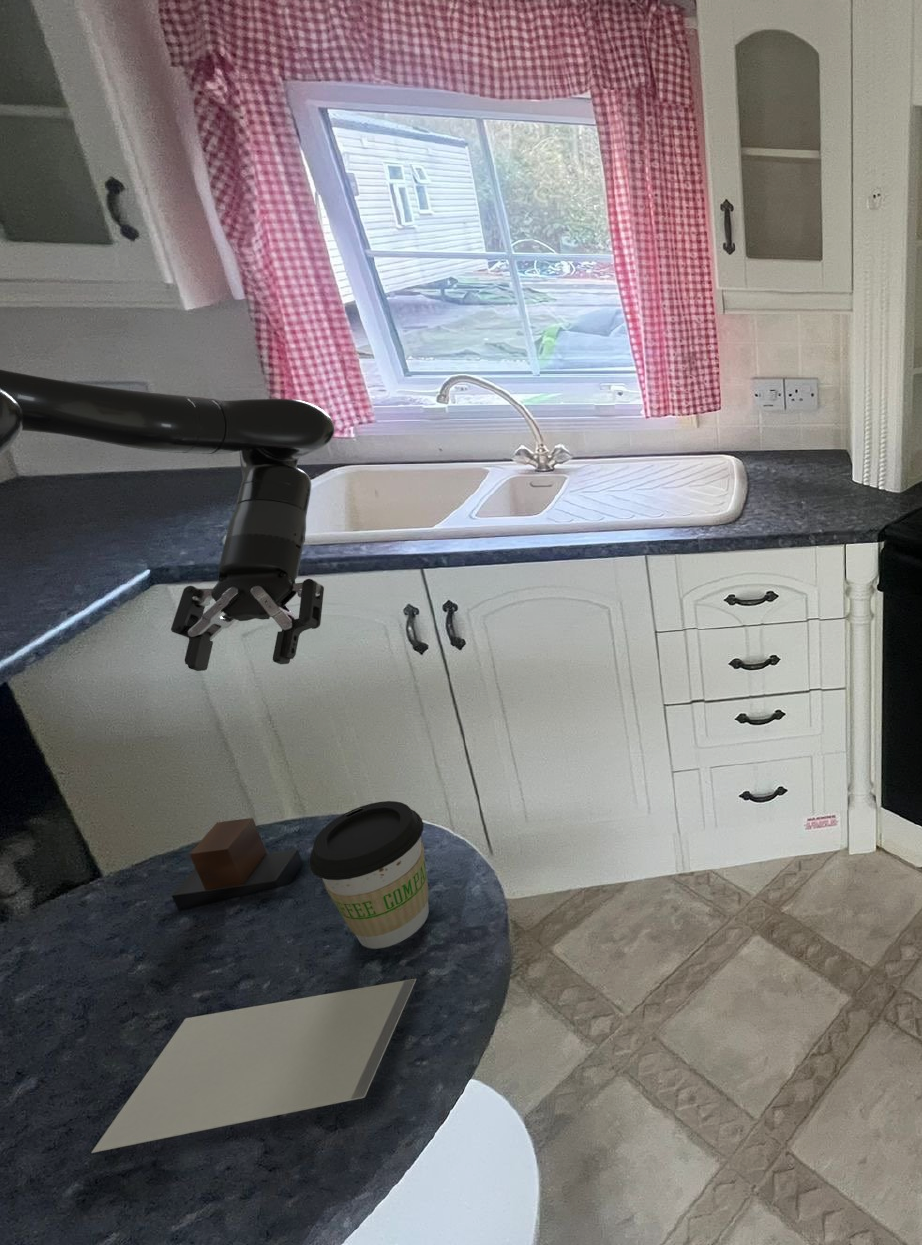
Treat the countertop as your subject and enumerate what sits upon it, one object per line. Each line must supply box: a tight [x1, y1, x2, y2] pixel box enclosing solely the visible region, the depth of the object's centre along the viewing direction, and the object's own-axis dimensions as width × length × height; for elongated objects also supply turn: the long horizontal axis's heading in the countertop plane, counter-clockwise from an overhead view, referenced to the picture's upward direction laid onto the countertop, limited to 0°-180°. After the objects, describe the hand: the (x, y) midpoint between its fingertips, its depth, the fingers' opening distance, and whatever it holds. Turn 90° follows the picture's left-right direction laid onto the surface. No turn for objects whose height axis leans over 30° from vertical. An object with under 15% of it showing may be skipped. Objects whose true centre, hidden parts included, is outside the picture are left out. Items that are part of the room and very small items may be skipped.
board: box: [90, 978, 417, 1154], centre depth 73 cm, size 20×12×2 cm, turn 104°
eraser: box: [171, 817, 304, 912], centre depth 90 cm, size 10×5×8 cm, turn 104°
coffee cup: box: [309, 800, 430, 950], centre depth 84 cm, size 10×10×15 cm
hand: (239, 666), depth 93 cm, fingers open, 8 cm apart
